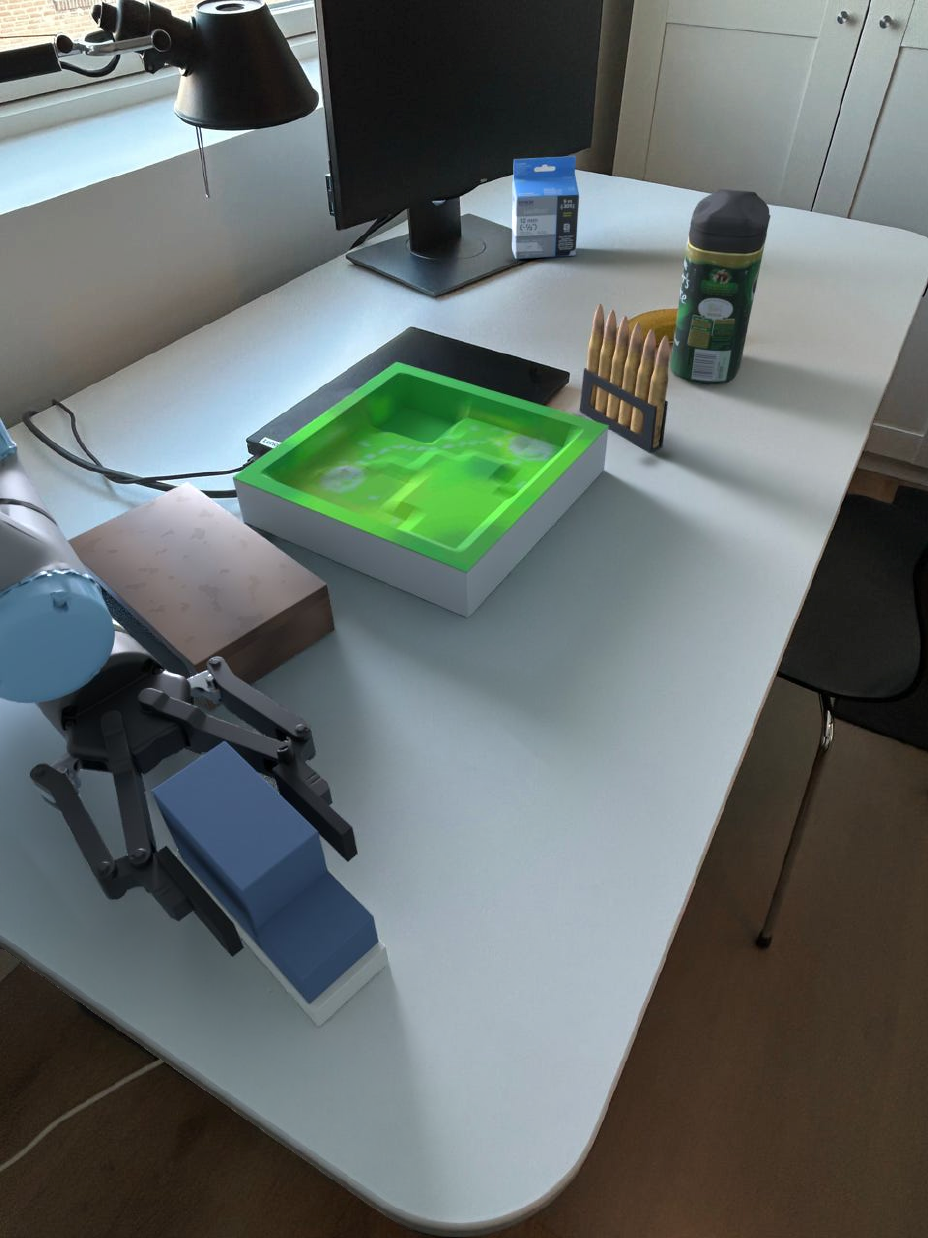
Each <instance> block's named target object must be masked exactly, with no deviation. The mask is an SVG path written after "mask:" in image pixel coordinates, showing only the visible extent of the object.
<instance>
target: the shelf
mask: <svg viewBox="0 0 928 1238" xmlns="http://www.w3.org/2000/svg"><path fill="white" fill-rule="evenodd" d="M67 541H68V542H69V544H70V545H71V547H72V548H73V550H74V552H75V553H76V555H77V556H78V558H79V559H80V561H81V562H82V564H83V565H84V567H85V568H86V570H87V571H88V573H89V575H90V576H91V577H93V578H94V579H95V582H96V583H97V584H98V585H99V586H100V588H101V591H102V592H103V590H105V591H106V592H107V593H108V594H109V595H110V596H111V597H112V598H113V599H114V600H115V601H116V602H117V603H119V604H120V605H121V606H122V607H123V608H124V609H125V610H126V611H127V612H128V613H129V614H130V615H132V616H133V618H135V620H137V622H139V623H140V624H141V625H142V626H143V627H144V628H146V630H148V631H149V632H150V633H151V634H152V635H153V636H154V637H155V638H156V639H157V640H158V641H160V642H161V644H162V645H164V646H165V647H166V648H167V649H168V650H169V651H170V652H171V653H172V654H174V656H175V657H177V658H178V659H179V660H180V661H181V662H182V663H183V664H184V665H185V667H186V669H187V671H188V675H189V678H191V677H193V676H195V675H198V674H200V673H202V672H205V671H207V670H208V668H207V662H208V661H209V660H210V659H211V658H213V657H222V658H223V659H224V660H225V662H226V663H227V665H228V667H229V668H230V670H231V671H232V673H233V675H234V676H236V677H238V678H239V679H241V680H242V681H244V682H245V683H247V684H248V685H250V686H251V685H253V684H255V683H256V682H257V681H259V680H261V679H262V678H263V677H265V676H267V675H268V674H269V673H271V672H273V671H275V670H276V669H277V668H279V667H280V666H283V664H286V663H287V662H288V661H290V660H291V659H293V658H295V657H296V656H297V655H299V654H300V653H302V652H303V651H305V650H307V649H308V648H310V647H312V646H313V645H315V644H317V642H319V641H321V640H322V639H324V638H325V637H326V636H328V635H330V634H331V633H332V632H334V631H336V625H335V619H334V614H333V608H332V603H331V596H330V592H329V585H328V583H327V582H325V581H324V580H323V579H322V578H320V577H319V576H317V575H316V574H314V573H313V572H312V571H310V570H309V569H308V568H307V567H305V566H303V565H302V564H301V563H299V562H298V561H297V560H295V559H294V558H293V557H291V556H290V555H288V554H287V553H286V552H284V551H283V550H282V549H280V548H279V547H277V546H276V545H275V544H274V543H272V542H271V541H270V540H268V539H266V538H265V537H264V536H263V535H261V534H260V533H258V532H257V531H256V530H254V529H253V528H251V527H250V525H249V526H248V524H247V523H245V522H243V520H241V519H239V518H238V517H236V516H235V515H234V514H232V513H231V512H230V511H228V510H227V509H225V508H224V507H223V506H221V505H220V504H219V503H217V502H216V501H214V499H211V498H210V497H209V496H208V495H206V494H205V493H204V492H202V491H201V490H200V489H198V488H197V487H195V486H194V485H192V484H191V483H190V482H188V481H186V482H184V483H182V484H180V485H179V486H176V487H174V488H172V489H170V490H168V491H166V492H164V493H162V494H160V495H158V496H155V497H154V498H152V499H150V500H148V501H146V502H144V503H141V504H140V505H138V506H135V507H133V508H132V509H129V510H128V511H125V512H123V513H121V514H119V515H117V516H115V517H113V518H111V519H108V520H107V521H105V522H103V523H101V524H98V525H96V526H94V527H93V528H90V529H89V530H86V531H84V532H82V533H80V534H78V535H76V536H74V537H72V538H70V539H67ZM196 698H197V699H198V701H199V702H200V703H201V705H203V706H204V707H205V708H206V709H207V710H208V711H210V712H211V711H213V710H215V709H216V708H218V707H219V706H220V705H223V704H222V702H221V703H219V704H214V703H213V701H210V700H208V699H207V698H206V697H204V696H197V697H196Z"/></svg>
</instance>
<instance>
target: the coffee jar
mask: <svg viewBox="0 0 928 1238" xmlns="http://www.w3.org/2000/svg"><path fill="white" fill-rule="evenodd" d="M770 219H771V214H770V207H769V206H768V204H767V203H766V202H765V200H763V199H762V198H761V197H760V196H759V195H758V193H756V192H755V191H749V190H739V189H723V188H719V189H717V190H716V191H715V192H713V193H711V194H709V195H707V196H706V197H704V198H702V199H701V200H700V201H699V202H698V203H697V204H696V206H695V208H694V210H693V212H692V216H691V220H690V227H689V231H688V236H687V242H686V249H685V255H684V261H683V262H684V263H683V267H682V268H683V269H682V275H681V284H680V290H679V298H678V306H677V313H676V320H675V327H674V334H673V341H672V347H671V348H672V349H671V354H670V355H671V357H670V371H671V373H672V374H673V376H675V377H678V378H680V379H682V380H684V381H687V382H689V383H692V384H695V385H705V386H710V385H717V384H718V385H719V384H727V383H730V382H731V381H733V379H735V378H736V376H737V374H738V372H739V371H740V367H741V362H742V360H743V359H742V358H743V353H744V349H745V344H746V339H747V334H748V328H749V323H750V318H751V313H752V308H753V303H754V298H755V295H756V290H757V284H758V279H759V275H760V269H761V264H762V260H763V255H764V250H765V244H766V240H767V234H768V229H769V225H770Z"/></svg>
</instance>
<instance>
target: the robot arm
mask: <svg viewBox="0 0 928 1238" xmlns="http://www.w3.org/2000/svg"><path fill="white" fill-rule="evenodd" d="M18 449H19V448H18V445H17V443H16V442H15V441H13V440H12V439H11V437H10V434H9V432H8V430H7V428H6V427H5V425H4V423H3V421H2V418H1V417H0V699H2V700H6V701H8V702H13V703H14V702H15V703H20V704H21V703H22V704H34V705H35V706H36V707H37V708H38V709H40V711H41V712H42V714H43V715H44V717H45V718H46V719H47V721H48V722H50V724H51V725H52V726H53V727H54V729H56V731H57V732H58V733H59V734H60V735H61V737H62V738H63V739H64V740H65V741H66V743H65V748H66V753H65V754H63V755H62V756H61V757H60V758H59V759H57V760H56V761H55V762H54V763H53V764H52V765H50V764H48V763H46V762H45V763H39V764H36V765H34V766H33V767H32V768H31V769H30V771H29V773H28V774H29V778H30V779H31V781H32V782H33V784H34V786H35V788H36V789H37V791H38V793H39V794H40V796H41V797H42V799H43V801H44V802H45V803H46V804H48V805H49V806H51V807H52V808H54V809H55V810H57V811H58V812H60V813H61V815H62V817H63V819H64V821H65V823H66V825H67V827H68V828H69V830H70V832H71V834H72V836H73V838H74V841H75V842H76V844H77V846H78V848H79V850H80V852H81V853H82V856H83V857H84V859H85V862H86V863H87V866H88V867H89V869H90V872H91V873H92V875H93V876H94V878H95V880H96V882H97V884H98V885H99V886H100V889H101V890H102V892H103V893H104V895H105V897H106V898H107V899H108V900H111V901H117V900H119V899H122V898H123V897H124V896H125V895H126V894H127V892H128V891H129V890H131V889H136V888H143V889H144V891H145V892H146V893H148V894H150V895H151V896H152V897H153V898H154V899H155V901H156V902H157V903H158V904H159V905H160V907H161V908H162V909H163V910H164V912H165V913H166V914H167V915H168V917H169V918H170V919H171V920H174V921H177V922H181V921H182V920H183V919H185V918H186V917H187V916H188V915H190V914H191V913H192V912H193V913H194V914H195V915H196V916H197V917H198V919H199V920H200V921H201V922H202V923H203V925H204V926H205V927H206V929H208V930H209V932H210V933H211V934H212V935H213V937H214V938H215V939H216V940H217V941H218V943H220V945H221V946H222V947H223V948H224V950H225V951H226V952H227V954H229V956H230V957H231V958H234V957H235V956H237V954H238V953H240V952H242V950H243V949H244V948H245V947H244V944H243V942H242V938H241V937H240V935H239V934H238V932H237V930H236V928H235V925H234V923H233V922H232V921H231V920H230V918H229V917H228V916H227V915H226V914H225V913H224V912H223V910H222V909H221V908H220V907H219V906H218V905H217V903H216V902H215V901H214V900H213V899H212V898H211V897H210V895H209V894H208V893H207V892H206V891H205V890H204V888H203V887H202V886H201V885H200V884H199V883H198V882H197V880H196V879H195V878H194V877H193V876H192V875H191V873H190V872H189V871H188V870H187V869H186V868H185V867H184V865H183V864H182V863H181V862H180V861H179V860H178V858H177V856H176V854H174V852H173V851H172V850H171V849H170V848H169V846H167V845H165V846H163V847H162V848H161V849H159V850H158V848H157V842H156V839H155V834H154V830H153V824H152V821H151V819H152V818H151V815H150V811H149V810H150V809H149V807H148V800H147V797H146V786H145V781H144V778H143V776H145V775H147V774H148V773H149V772H151V771H152V770H154V769H155V768H156V767H158V765H160V763H161V762H162V761H164V760H165V759H167V758H170V757H172V756H174V755H176V754H178V753H180V752H181V751H183V750H185V751H188V752H191V753H195V754H196V755H202V754H203V753H204V754H206V753H208V752H209V751H210V750H212V749H213V748H215V747H216V746H218V745H219V744H221V743H222V742H224V741H225V742H227V743H228V744H229V745H230V746H231V747H232V748H233V749H234V750H235V751H236V752H237V753H238V754H239V755H240V756H241V757H242V758H243V759H244V760H245V761H246V762H247V763H248V764H249V765H250V766H251V767H252V768H253V769H254V770H255V771H256V772H257V773H258V774H259V775H263V776H266V777H268V778H271V779H273V780H275V783H276V784H275V785H276V787H277V790H278V791H277V792H278V793H279V794H280V795H281V796H282V797H283V798H284V799H285V800H286V801H287V802H288V803H289V804H290V805H291V806H292V807H293V808H294V809H295V810H296V811H297V812H298V813H299V814H300V815H302V816H303V817H304V818H305V819H306V820H307V821H308V822H309V823H310V824H311V825H312V826H313V827H314V828H315V829H316V830H317V831H318V833H319V836H320V837H321V838H322V839H324V841H326V842H327V844H329V846H330V847H332V848H333V849H334V850H335V852H337V853H338V855H340V856H341V857H342V858H343V859H344V860H345V861H346V862H347V863H348V862H350V861H352V859H353V858H355V857H356V856H357V855H358V854H359V853H358V852H359V851H358V847H357V842H356V837H355V833H354V827H353V826H352V825H351V824H350V823H349V822H348V821H347V820H345V819H344V818H343V817H342V816H341V815H340V814H339V813H337V811H336V810H335V809H334V808H332V807H331V805H332V804H333V798H332V794H331V789H330V786H329V784H328V782H327V781H326V780H325V779H324V778H323V777H322V776H320V774H319V773H317V772H316V770H314V769H313V768H312V767H311V766H310V765H309V764H308V763H307V762H308V761H311V760H313V759H314V758H315V756H316V754H317V750H316V745H315V740H314V736H313V732H312V728H311V725H310V724H309V723H308V722H307V721H305V720H304V719H303V718H300V717H299V716H298V715H296V714H295V713H293V712H291V711H290V710H288V709H287V708H286V707H284V706H282V705H281V704H279V703H278V702H276V701H275V700H274V699H271V697H269V696H267V695H265V694H264V693H262V692H261V691H259V690H258V689H256V688H254V687H253V686H251V685H248V684H247V683H245V682H244V681H242V680H241V679H239V678H238V677H236V676H234V675H233V673H232V671H231V670H230V668H229V667H228V665H227V663H226V662H225V660H224V659H223V658H222V657H213V658H211V659H210V660H209V661H208V662H207V668H208V670H207V671H205V672H202V673H200V674H198V675H195V676H193V677H188V678H187V677H185V676H183V675H181V674H176V673H173V672H171V671H168V670H167V669H166V668H165V667H164V666H163V665H162V664H161V662H159V661H158V660H157V659H156V658H155V657H154V656H153V655H152V654H151V653H150V652H149V651H148V650H147V649H146V648H144V646H143V645H141V644H140V642H139V641H138V640H136V638H134V637H132V635H131V634H130V633H129V632H128V631H127V630H126V629H125V628H124V627H123V625H121V624H120V623H119V622H118V621H116V620H115V619H114V618H113V616H112V613H111V612H110V611H109V607H108V605H107V604H106V602H105V599H104V596H103V590H102V591H101V588H100V586H99V585H98V584H97V583H96V582H95V579H94V578H93V577H91V576H90V575H89V573H88V571H87V570H86V568H85V567H84V565H83V564H82V562H81V561H80V559H79V558H78V556H77V555H76V553H75V552H74V550H73V548H72V547H71V545H70V544H69V542H68V539H67V538H66V536H65V534H64V533H63V532H62V530H61V528H60V527H59V525H58V523H57V521H56V520H55V518H54V517H53V515H52V513H51V512H50V510H49V508H48V507H47V505H46V503H45V502H44V500H43V498H42V497H41V495H40V493H39V492H38V490H37V489H36V487H35V485H34V484H33V482H32V481H31V479H30V477H29V475H28V472H27V471H26V469H25V466H24V464H23V462H22V460H21V457H20V455H19V453H18ZM197 696H204V697H206V698H207V699H208V700H210V701H213V703H214V704H219V703H221V702H222V704H221V705H223V706H224V708H225V709H226V710H227V711H229V712H230V713H231V714H233V715H234V716H235V717H237V718H238V719H240V720H241V721H243V722H244V723H246V724H247V725H249V727H252V728H253V729H255V731H253V730H250V729H249V728H244V727H242V726H239V725H238V724H237V725H236V724H233V723H231V722H228V721H226V720H223V719H220V718H217V717H215V716H212V715H209V714H207V713H206V712H204V711H203V710H202V709H201V708H200V707H199V706H196V705H195V698H198V697H197ZM257 731H258V732H257ZM81 770H84V771H92V772H97V773H98V772H100V773H108V774H112V777H113V784H114V789H115V794H116V800H117V805H118V810H119V816H120V822H121V827H122V833H123V837H124V842H125V848H126V852H127V853H126V854H127V855H124V856H122V857H119V858H116V859H114V857H113V855H112V854H111V851H110V850H109V848H108V846H107V845H106V843H105V841H104V838H103V837H102V835H101V833H100V832H99V829H98V828H97V826H96V824H95V822H94V820H93V818H92V817H91V815H90V813H89V811H88V809H87V808H86V805H85V804H84V802H83V801H82V799H81V797H80V795H79V794H80V793H81V790H80V789H81V787H82V780H81V778H80V776H79V773H80V771H81Z"/></svg>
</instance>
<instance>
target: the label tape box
mask: <svg viewBox="0 0 928 1238" xmlns="http://www.w3.org/2000/svg"><path fill="white" fill-rule="evenodd" d="M576 162H577V156H576V155H571V156H569V155H568V156H552V157H551V156H550V157H533V158H514V159H513V178H512V185H511V186H512V188H511V189H512V191H511V192H512V193H511V194H512V195H511V197H512V201H511V202H512V203H511V204H512V205H511V206H512V207H511V212H512V213H511V215H512V216H511V217H512V219H511V221H512V222H511V249H512V251H511V252H512V254H513V256H514V258H515V260H523V259H537V258H555V257H570V256H571V257H572V256H576V253H577V238H578V223H579V222H578V221H579V209H580V207H579V205H580V194H579V188H578V187H579V186H578V181H577V177H576V164H577V163H576ZM544 165H546V166H547V167H548V168H549V167H554V170H545V171H543V170H541V171H536V170H535V169H536V168H542V167H543V166H544Z"/></svg>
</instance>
